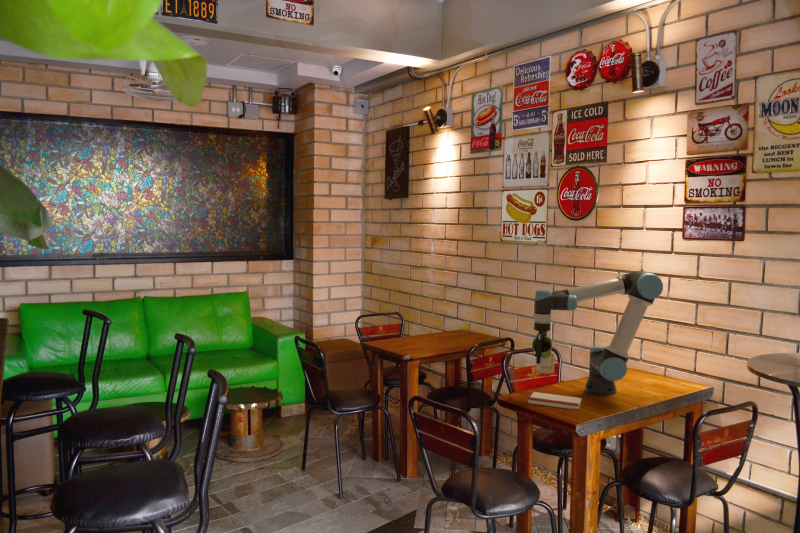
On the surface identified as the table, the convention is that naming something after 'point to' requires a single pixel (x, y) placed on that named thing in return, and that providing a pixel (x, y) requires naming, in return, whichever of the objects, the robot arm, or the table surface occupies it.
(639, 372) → the table surface
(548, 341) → the plant pot
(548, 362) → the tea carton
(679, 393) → the table surface
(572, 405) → the shelf board
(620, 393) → the table surface
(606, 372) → the robot arm
